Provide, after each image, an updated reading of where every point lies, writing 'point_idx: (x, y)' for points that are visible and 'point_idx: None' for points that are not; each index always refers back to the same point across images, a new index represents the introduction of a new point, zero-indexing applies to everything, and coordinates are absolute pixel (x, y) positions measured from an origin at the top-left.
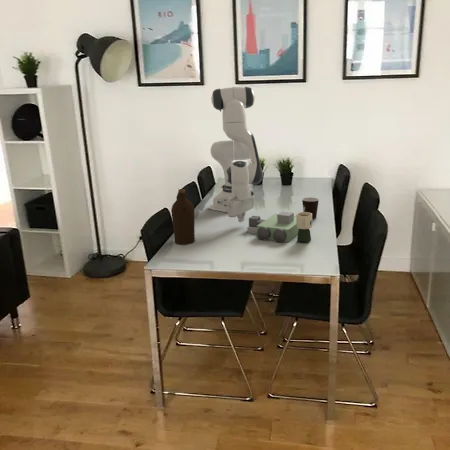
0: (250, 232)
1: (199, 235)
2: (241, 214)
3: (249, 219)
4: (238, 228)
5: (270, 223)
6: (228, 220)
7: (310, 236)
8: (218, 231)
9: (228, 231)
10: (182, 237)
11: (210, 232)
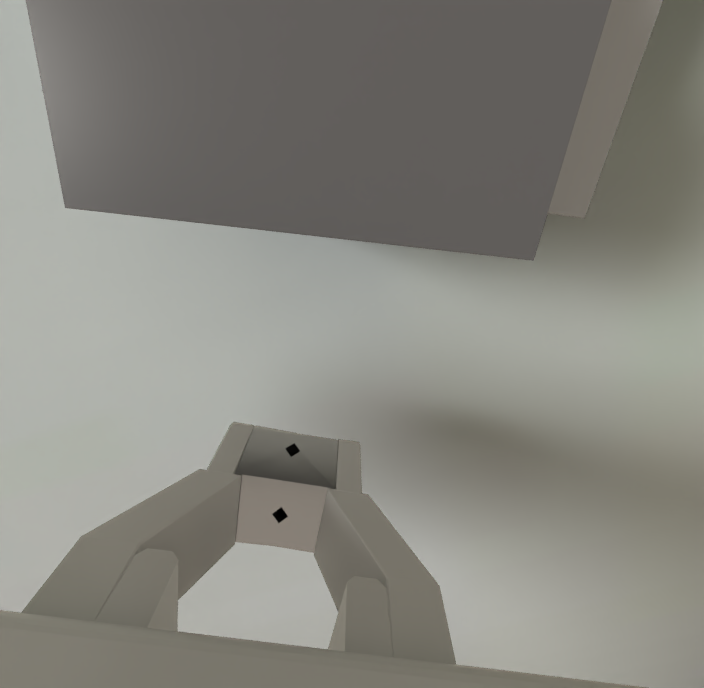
0: None
1: (672, 664)
2: (366, 622)
3: (518, 219)
4: (350, 413)
5: None
6: None
7: None
8: (524, 572)
9: (512, 484)
10: None
11: (567, 621)
